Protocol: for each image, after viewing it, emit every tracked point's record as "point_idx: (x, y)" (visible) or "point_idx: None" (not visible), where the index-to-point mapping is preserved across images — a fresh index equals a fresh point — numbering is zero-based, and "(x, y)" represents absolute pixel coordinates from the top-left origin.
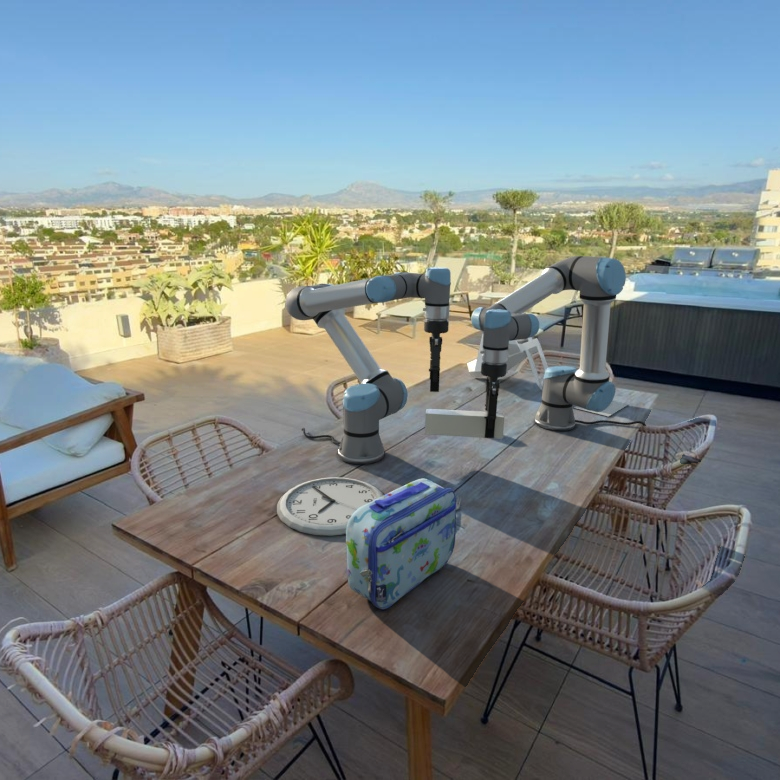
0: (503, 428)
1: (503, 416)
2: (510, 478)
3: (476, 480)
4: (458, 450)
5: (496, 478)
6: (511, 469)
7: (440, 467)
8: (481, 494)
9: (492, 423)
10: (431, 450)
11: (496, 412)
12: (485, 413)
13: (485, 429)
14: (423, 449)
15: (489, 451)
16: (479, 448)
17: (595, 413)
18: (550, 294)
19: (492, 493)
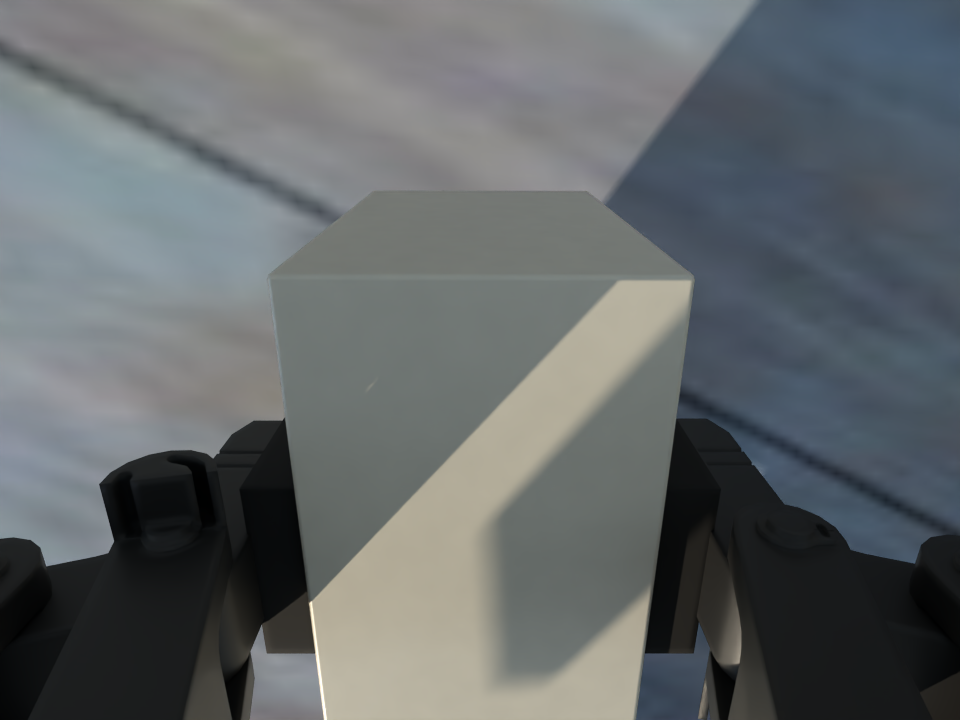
0: (621, 219)
1: (615, 295)
2: (650, 70)
3: (695, 343)
4: (201, 452)
5: (656, 192)
6: (471, 40)
7: None
8: (906, 318)
9: (764, 492)
10: None
11: (312, 449)
12: (444, 670)
13: None
14: (258, 653)
15: (135, 215)
16: (101, 297)
17: None
18: None
19: (899, 241)
